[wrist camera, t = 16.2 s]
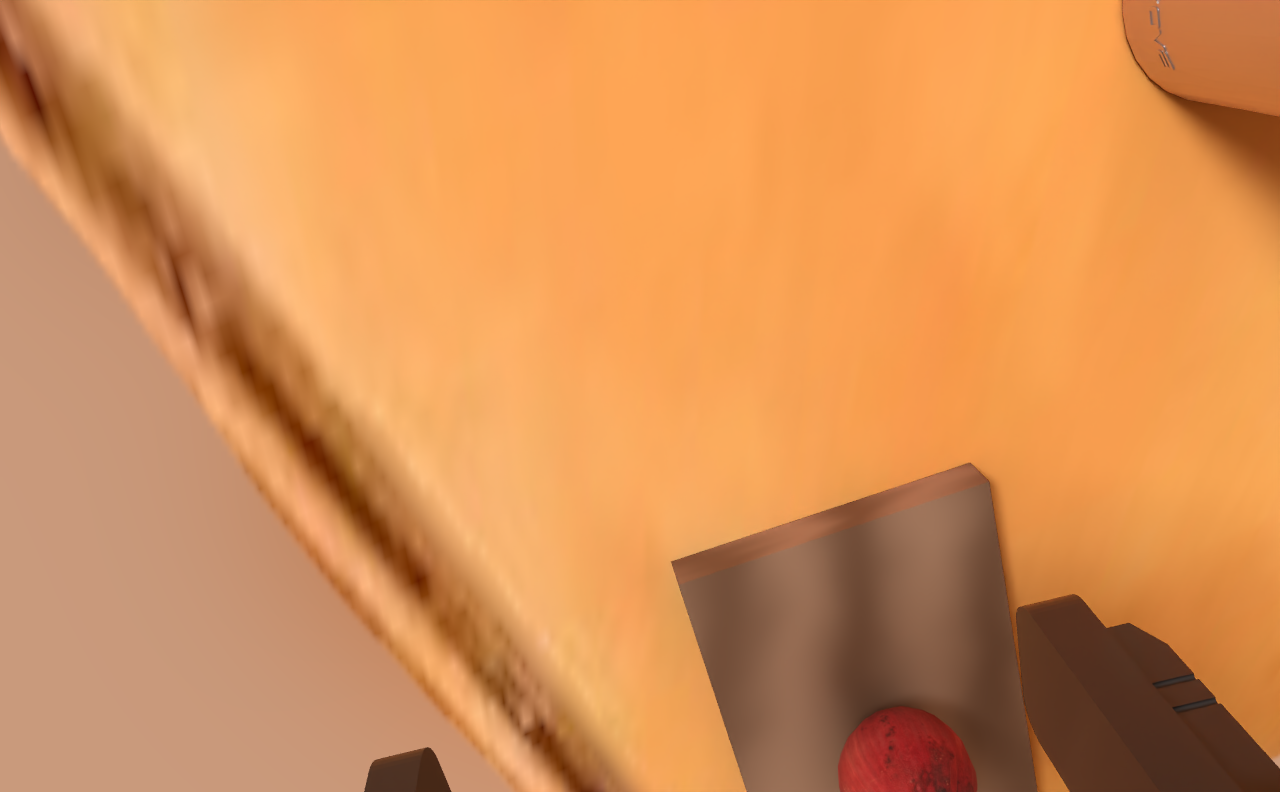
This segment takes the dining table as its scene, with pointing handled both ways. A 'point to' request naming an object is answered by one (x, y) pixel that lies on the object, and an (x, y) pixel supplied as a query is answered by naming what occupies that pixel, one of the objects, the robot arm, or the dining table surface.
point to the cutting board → (863, 633)
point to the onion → (905, 755)
